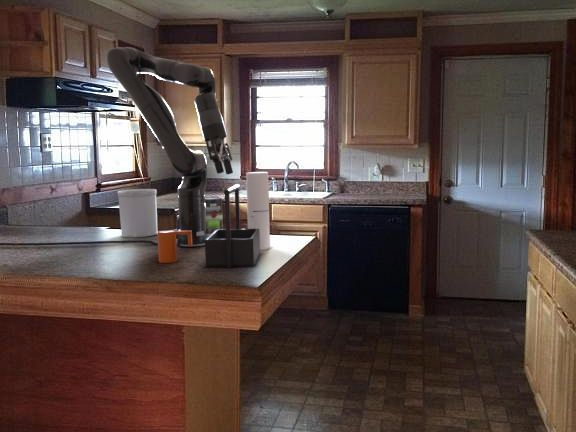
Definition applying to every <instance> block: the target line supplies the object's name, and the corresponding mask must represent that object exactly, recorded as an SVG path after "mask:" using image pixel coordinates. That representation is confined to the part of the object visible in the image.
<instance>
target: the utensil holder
mask: <svg viewBox="0 0 576 432" xmlns="http://www.w3.org/2000/svg"><path fill="white" fill-rule="evenodd" d="M157 193H158V191H157V189H156V188H134V189H132V188H131V189H124V190H123V189H122V190H118V191H117V194H116V195H117V196H118V197H117V198H118V209H119V219H120V220H119V223H120V230H121V231H120V232H121V236H122V237H123V238H146V237H151V236H156V235H157V232H158V211H157V210H158V209H157Z"/></svg>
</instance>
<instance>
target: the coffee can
mask: <svg viewBox="0 0 576 432" xmlns="http://www.w3.org/2000/svg"><path fill="white" fill-rule="evenodd" d="M205 207H206V234H207V237H208V236H209V235H211V234H212V233H213V232H214V231H215V230H216V229H224V226H223V224H224V223H223V197H220V196H205Z"/></svg>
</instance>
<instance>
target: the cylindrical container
mask: <svg viewBox="0 0 576 432" xmlns="http://www.w3.org/2000/svg"><path fill="white" fill-rule="evenodd" d="M245 174H246V175H245V177H246V182H245V183H246V208H247V209H246V210H247V212H246V213H247V229H259V231H260V251H264V250H270V249H271V234H270V233H271V230H270V228H271V227H270V226H271V225H270V195H269V194H270V192H269V190H270V189H269V172H268V171H251V172H250V171H249V172H246V173H245Z"/></svg>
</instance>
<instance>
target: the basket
mask: <svg viewBox="0 0 576 432" xmlns="http://www.w3.org/2000/svg"><path fill="white" fill-rule="evenodd" d="M232 193H234V211H235V212H234V213H235V228H231V202H230V199H231V198H230V195H231V194H232ZM223 194H224V217H225V218H224V220H225V228H223V229H216V230H215V231H214V232H213V233H212V234H211V235H209V236H207V238H206V239H205V246H204V257H205V268H207V269H209V268H211V269H212V268H213V269H215V268H226V269H232V268H255V265H256V263H257V261H258V259H259V257H260V255H261V250H260V231H259V229H248V228H241V211H240V184H238V183H236V184H233V185H232V186H230V187H228V188H226V189H224V190H223Z"/></svg>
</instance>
